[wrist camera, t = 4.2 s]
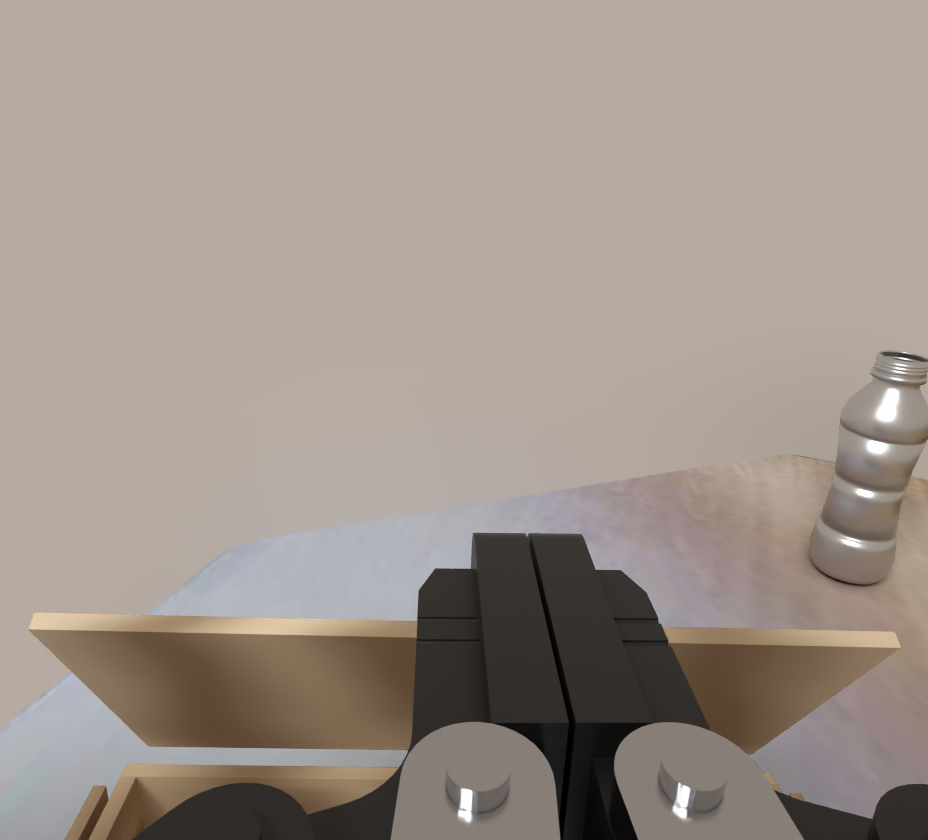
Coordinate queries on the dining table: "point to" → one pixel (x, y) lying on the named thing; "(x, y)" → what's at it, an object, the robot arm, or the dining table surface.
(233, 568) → the dining table surface
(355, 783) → the light wooden open box
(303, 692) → the front flap
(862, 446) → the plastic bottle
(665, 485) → the dining table surface
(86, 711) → the dining table surface
